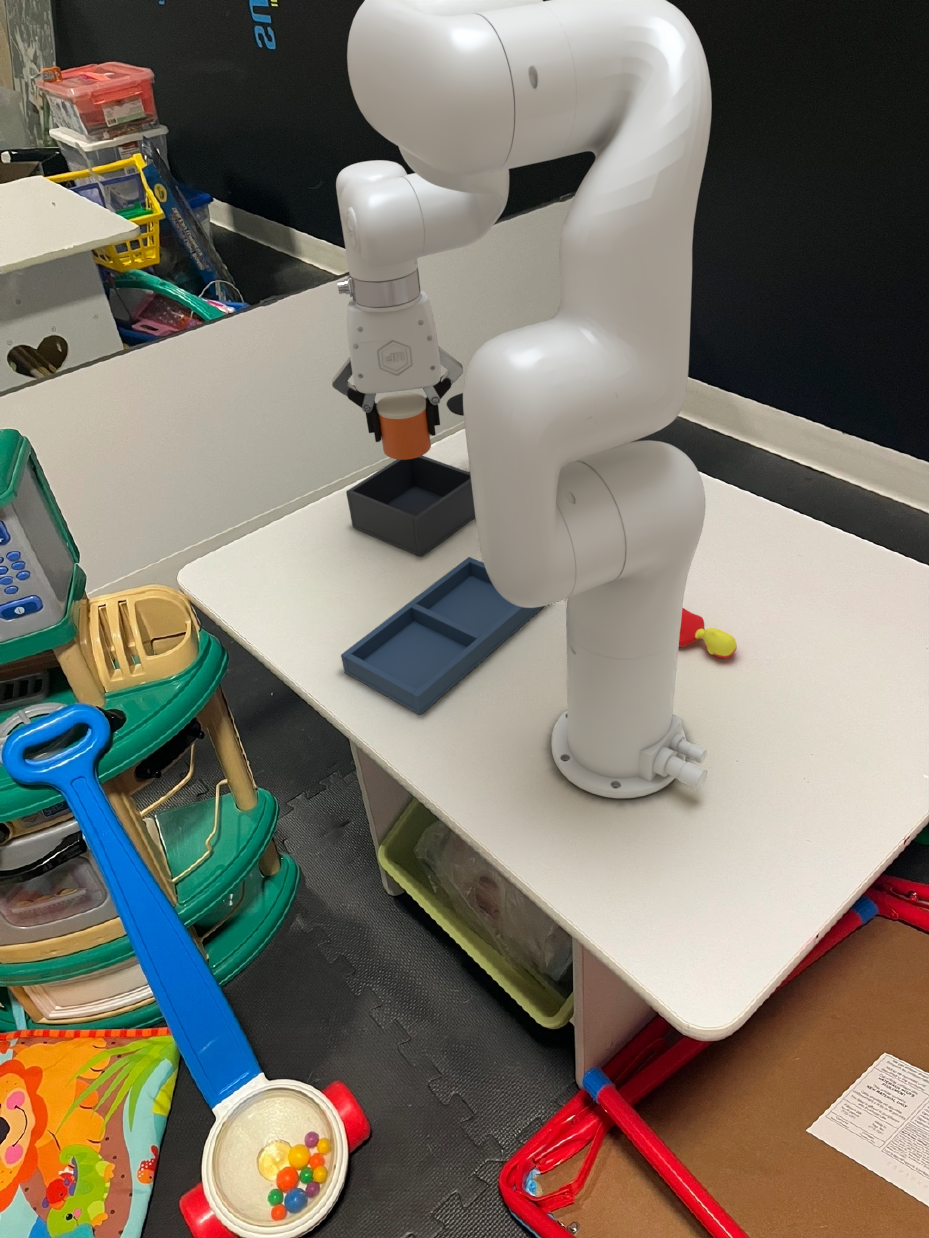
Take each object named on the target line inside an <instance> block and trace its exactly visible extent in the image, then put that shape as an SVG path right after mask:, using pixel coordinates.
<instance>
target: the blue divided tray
mask: <svg viewBox="0 0 929 1238" xmlns="http://www.w3.org/2000/svg"><path fill="white" fill-rule="evenodd" d="M544 607H545V606H541V607H535V608H524V607H520V606H516V605H514V604H512V603H510V602H508V601H507V600H505V599H504V598H503V597H502V596H501V595H500V594H499V593H498V591H497V590H496V589H495V587H494V586H493V584H492V582H491V580H490V578H489V576H488V574H487V571H486V568H485V565H484V562H482V561H480V560H478V559H475V558H474V557H471V556H467V557H466V558H465V559H463V561H461V562H460V563H459V564H457V565H456V566H455V567H453V568H452V569H451V570H450V571H448V572H447V573H446V574H444V575H443V576H442V577H441V578H439V579H437V580H436V581H435V582H434V583H432V584H431V585H430V586H429V587H427V588H426V589H425V590H424V591H422V592H421V593H419V594H418V595H417V596H416V597H414V598H413V599H412V600H410V601H409V602H407V603H406V604H405V605H404V606H403V607H401V608H399V610H397V611H396V612H394V613H393V614H392V615H391V616H389V617H388V618H387V619H385V620H384V621H383V622H382V623H380V624H379V625H378V626H376V627H375V628H374V629H372V630H371V631H370V632H368V633H367V634H366V635H364V637H362V638H360V640H358V641H357V642H355V643H354V644H353V645H352V646H351V647H349V648H347V649H346V650H345V651H344V652H343V653H341V654H340V658H341V662H342V666H343V671H344V673H345V674H346V675H348V676H349V677H352V678H354V679H355V680H357V681H359V682H360V683H362V684H364V685H366V686H368V687H369V688H372V689H373V690H375V691H377V692H378V693H380V694H382V695H384V696H385V697H387V698H389V699H391V700H392V701H395V702H396V703H398V704H400V705H401V706H403V707H405V708H407V709H409V710H411V711H412V712H414V713H416V714H418V715H419V716H421V715H423V714H424V713H425V712H426V711H427V710H428V709H430V707H432V706H433V705H434V704H435V703H436V702H437V701H438V700H440V699H441V698H442V697H443V696H444V695H446V693H448V692H449V691H450V690H451V689H452V688H454V687H455V685H457V684H458V683H459V682H460V681H462V680H463V679H464V678H465V677H466V676H467V675H468V674H469V673H470V672H471V671H473V670H474V669H475V668H477V666H478V665H479V664H481V663H482V662H483V661H484V660H485V659H486V658H487V657H489V656H490V655H491V654H492V653H493V652H495V651H496V650H497V649H498V648H499V647H500V646H501V645H502V644H504V643H505V642H506V641H507V640H508V639H509V638H511V636H513V635H514V634H515V633H516V632H517V631H518V630H519V629H521V628H522V627H523V626H524V625H525V624H526V623H527V622H528V621H530V620H531V619H532V618H534V616H535V615H537V614H538V613H539V612H540V611H541V610H542V609H544Z"/></svg>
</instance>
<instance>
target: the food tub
mask: <svg viewBox="0 0 929 1238" xmlns="http://www.w3.org/2000/svg"><path fill="white" fill-rule="evenodd" d="M376 403H377V405H376V408H377V412H378V418H379V425H380V431H381V443H382V450H383V453H384V455H385V456H386V457H388V458H390V459H393V460H397V459H399V460H407V459H413V458H417V457H420V456H425V455H426V454H427V453H428V452H429V451H430V449H431V448H432V441H431V435H430V432H429V424H428V415H427V407H426V405H427V403H426V398H425V396H424V395H422V394H420V393H418V392H417V393H416V392H411V391H406V392H405V391H404V392H401V391H400V392H395V393H391V394H388V395H387V396H384V397H381V399H379V400H378V401H377V402H376Z"/></svg>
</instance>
